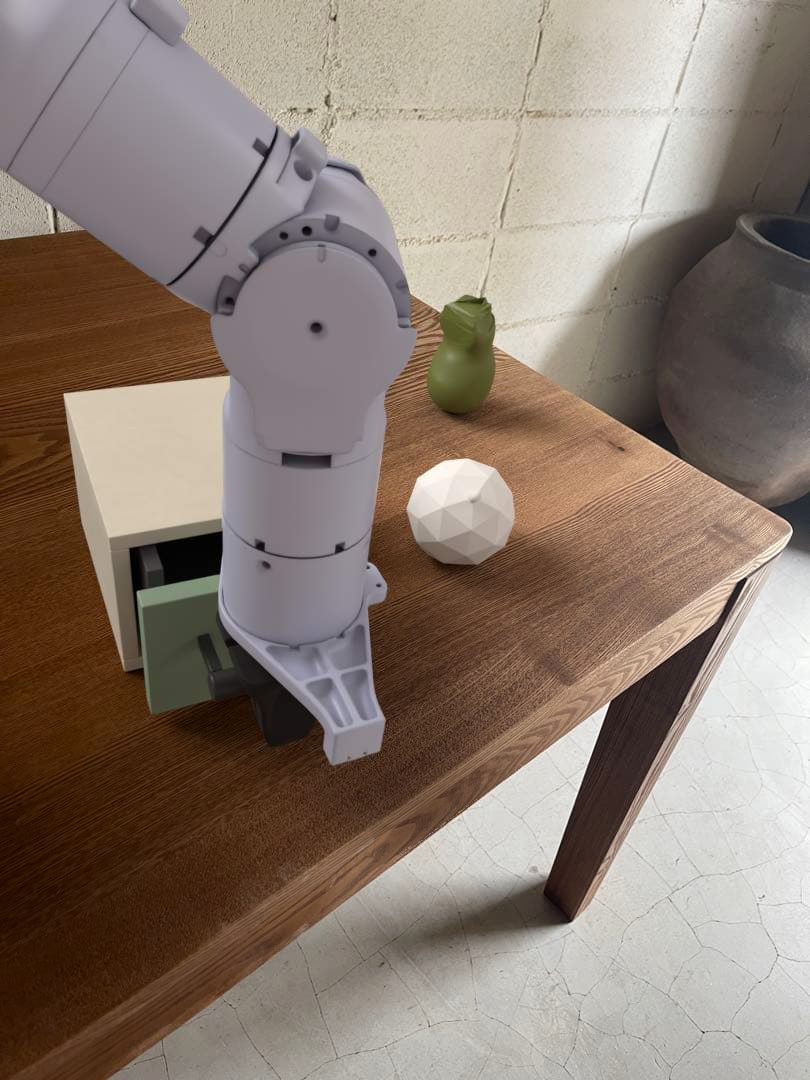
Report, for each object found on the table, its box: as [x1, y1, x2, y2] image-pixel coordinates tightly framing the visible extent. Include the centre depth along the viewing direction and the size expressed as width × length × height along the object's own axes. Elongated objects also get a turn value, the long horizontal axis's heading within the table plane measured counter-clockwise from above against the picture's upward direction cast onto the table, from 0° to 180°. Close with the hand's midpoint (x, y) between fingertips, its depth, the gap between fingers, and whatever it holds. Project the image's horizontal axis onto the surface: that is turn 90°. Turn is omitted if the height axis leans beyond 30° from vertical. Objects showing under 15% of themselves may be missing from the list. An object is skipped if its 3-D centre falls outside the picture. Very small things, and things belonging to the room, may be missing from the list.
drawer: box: [129, 531, 248, 716], centre depth 47 cm, size 16×11×8 cm, turn 25°
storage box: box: [63, 375, 230, 672], centre depth 52 cm, size 14×12×10 cm
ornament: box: [406, 457, 516, 566], centre depth 57 cm, size 7×7×8 cm
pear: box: [426, 294, 497, 414], centre depth 71 cm, size 6×5×10 cm
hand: (284, 731), depth 41 cm, fingers closed
